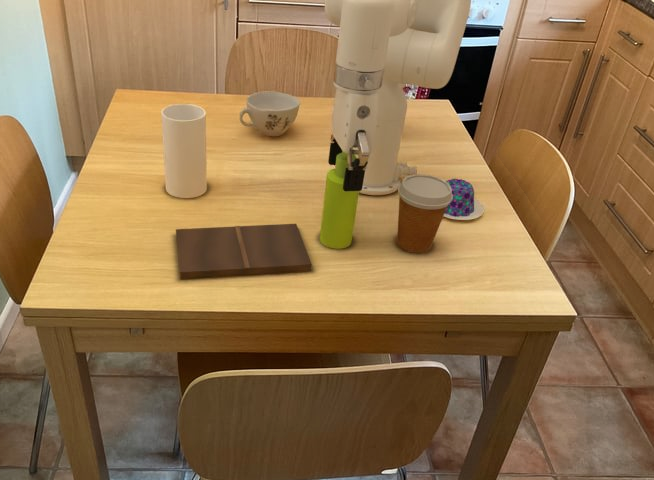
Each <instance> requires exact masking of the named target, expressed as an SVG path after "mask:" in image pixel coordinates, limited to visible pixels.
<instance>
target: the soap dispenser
mask: <svg viewBox="0 0 654 480" xmlns="http://www.w3.org/2000/svg"><path fill="white" fill-rule="evenodd" d="M351 150H353V148H351ZM352 157H353V161H354V160H355V159H356V156H355V155H352ZM334 166H335V167H334V168H332V169H330V170H329V171H327V173H326V179H325V188H324V196H323V204H322V205H323V206H322V214H321V223H320V233H319V241H320V243H321V244H322V245H323V246H325V247H327V248H330V249H334V250H341V249H346V248H348V247H349V246H351V245H352V241H353V237H354V236H353V234H354V228H355V223H356V215H357V208H358V202H359V195H360V193H359V191H344V190H343V183H344V176H345V168H348V161H347V154H346V153H344V152H343V151H342V153H339V154H338V155H337V157H336V165H334Z"/></svg>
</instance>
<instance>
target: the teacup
mask: <svg viewBox="0 0 654 480" xmlns="http://www.w3.org/2000/svg"><path fill="white" fill-rule="evenodd" d="M300 104H301V99H299V98H298V97H297V96H294V95H292V94H289V93H285V92H280V91H272V90H265V91H258V92H254V93H252V94H250V95H248V96H247V97H246V107H245V108H241V110H240V112H239V118H238V119H239V122H240V123H241V125H242V126H244V127H250V128H255V129H257V130H258V131H259V132H260V134H262V135H264V136H267V137H280V136H283V135H284V134H285V132H286V131H288V130H289V129H290V128H291V127H292V125H293V124H294V122H295V121H296V119H297V117H298V113H299V109H300V106H301V105H300ZM245 114H247V115H248V117H249V119H250V121H251V123H248V122H246V121H245V120H243V117H244V115H245Z"/></svg>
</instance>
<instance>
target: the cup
mask: <svg viewBox="0 0 654 480" xmlns="http://www.w3.org/2000/svg"><path fill="white" fill-rule="evenodd" d="M160 114H161V115H160V116H161V131H162V132H161V133H162V150H163V167H164V179H165V180H164V183H165V191H166V193H167V194H169V195H170V196H172V197H175V198H180V199H194V198H198V197H200V196H203V195H204V194H205V193H206V192H207V190H208V174H207V170H208V169H207V167H208V166H207V165H208V163H207V161H208V160H207V114H206V110H205V109H204V108H203V107H201V106H199V105H197V104H191V103H189V104H188V103H175V104H170V105H168V106H167V105H166V106H165V107H163V108H162V109H161V112H160Z"/></svg>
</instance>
